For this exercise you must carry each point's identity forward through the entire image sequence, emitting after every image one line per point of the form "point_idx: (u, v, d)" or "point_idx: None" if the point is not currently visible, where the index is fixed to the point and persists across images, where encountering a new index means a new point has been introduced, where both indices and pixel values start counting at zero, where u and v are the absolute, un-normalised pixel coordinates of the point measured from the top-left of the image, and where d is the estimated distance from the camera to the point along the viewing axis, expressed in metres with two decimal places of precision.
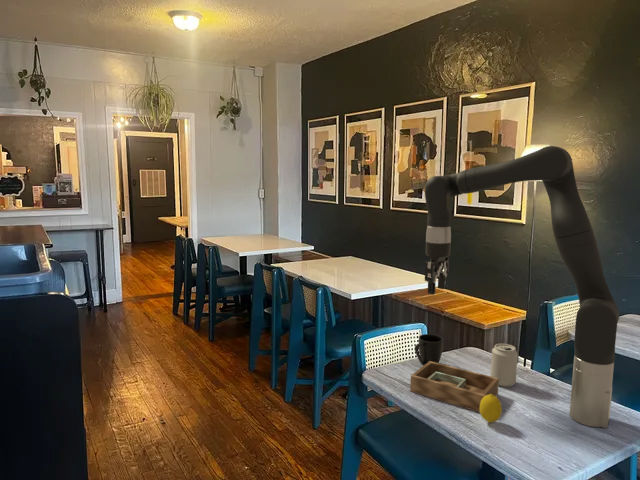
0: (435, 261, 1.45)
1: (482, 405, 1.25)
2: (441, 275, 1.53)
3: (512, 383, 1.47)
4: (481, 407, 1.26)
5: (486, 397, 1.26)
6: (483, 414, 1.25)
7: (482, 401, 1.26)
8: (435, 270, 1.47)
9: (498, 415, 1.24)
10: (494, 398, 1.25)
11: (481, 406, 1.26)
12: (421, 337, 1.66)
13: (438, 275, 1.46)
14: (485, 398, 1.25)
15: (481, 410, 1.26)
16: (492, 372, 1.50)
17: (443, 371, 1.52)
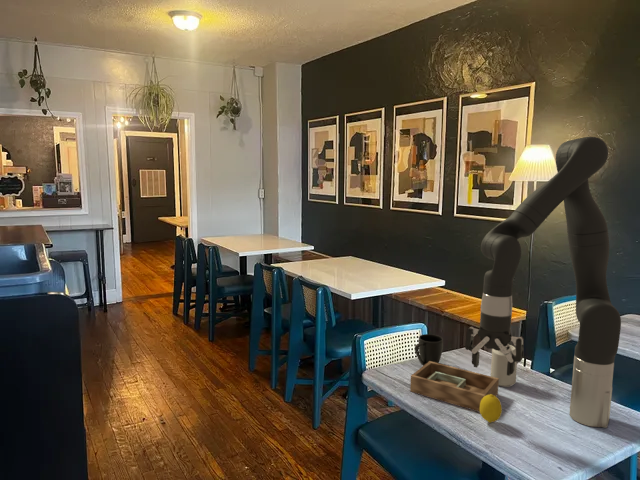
0: None
1: (482, 405, 1.25)
2: (477, 351, 1.27)
3: (512, 383, 1.47)
4: (481, 407, 1.26)
5: (486, 397, 1.26)
6: (483, 414, 1.25)
7: (482, 401, 1.26)
8: (505, 345, 1.23)
9: (498, 415, 1.24)
10: (494, 398, 1.25)
11: (481, 406, 1.26)
12: (421, 337, 1.66)
13: None
14: (485, 399, 1.25)
15: (481, 410, 1.26)
16: (492, 372, 1.50)
17: (443, 371, 1.52)
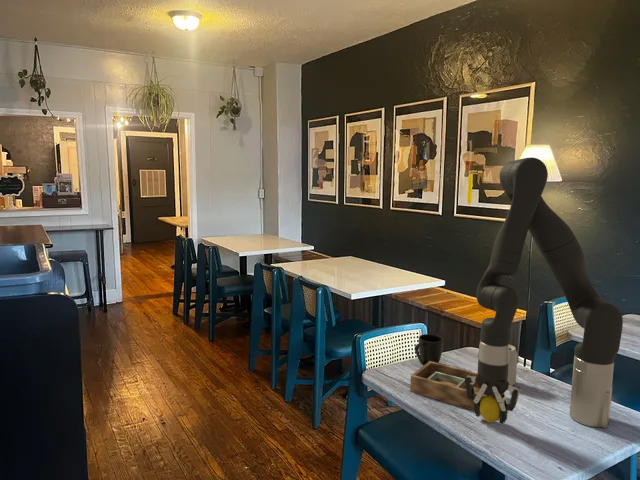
0: None
1: (482, 405, 1.25)
2: (479, 400, 1.28)
3: (512, 383, 1.47)
4: (481, 407, 1.26)
5: (486, 397, 1.26)
6: (483, 414, 1.25)
7: (482, 401, 1.26)
8: None
9: (498, 415, 1.24)
10: (494, 398, 1.25)
11: (481, 406, 1.26)
12: (421, 337, 1.66)
13: None
14: (485, 398, 1.25)
15: (481, 410, 1.26)
16: None
17: (443, 371, 1.52)
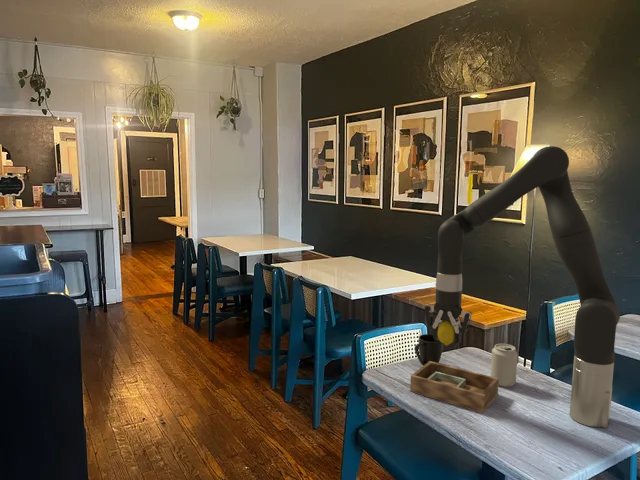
0: None
1: (439, 330, 1.42)
2: (437, 326, 1.44)
3: (512, 383, 1.47)
4: (438, 331, 1.42)
5: (443, 322, 1.42)
6: (440, 337, 1.42)
7: (439, 326, 1.42)
8: (455, 318, 1.41)
9: (453, 337, 1.40)
10: (449, 323, 1.41)
11: (438, 330, 1.42)
12: (421, 337, 1.66)
13: (457, 322, 1.42)
14: (442, 323, 1.42)
15: (438, 334, 1.42)
16: (492, 372, 1.50)
17: (443, 371, 1.52)
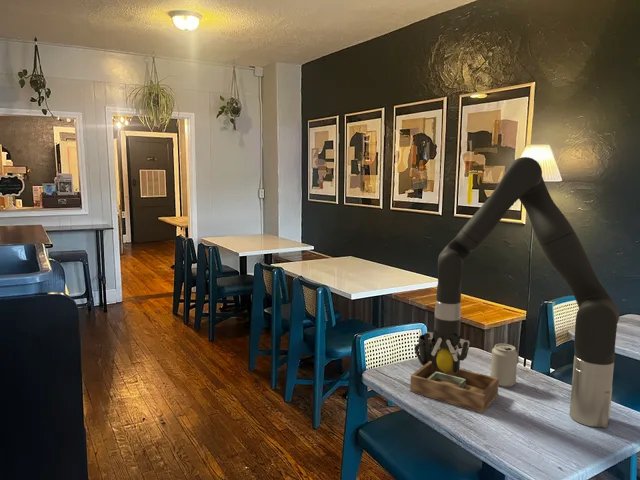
0: None
1: (438, 357, 1.43)
2: (436, 353, 1.46)
3: (512, 383, 1.47)
4: (437, 358, 1.44)
5: (441, 350, 1.44)
6: (439, 364, 1.43)
7: (438, 353, 1.44)
8: (454, 346, 1.43)
9: (451, 365, 1.42)
10: (448, 350, 1.43)
11: (437, 358, 1.44)
12: (421, 337, 1.66)
13: None
14: (441, 351, 1.43)
15: (437, 361, 1.44)
16: (492, 372, 1.50)
17: None
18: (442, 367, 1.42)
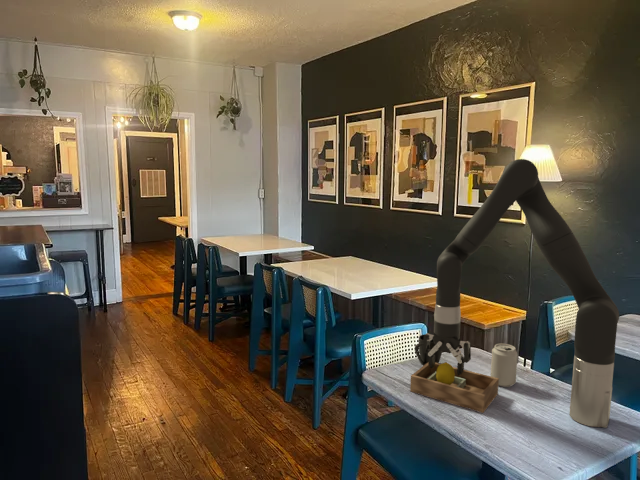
0: None
1: (438, 372, 1.44)
2: (433, 354, 1.46)
3: (512, 383, 1.47)
4: (437, 373, 1.44)
5: (441, 364, 1.44)
6: (438, 379, 1.44)
7: (438, 368, 1.44)
8: (455, 349, 1.42)
9: (451, 380, 1.42)
10: (448, 365, 1.43)
11: (437, 372, 1.44)
12: (421, 337, 1.66)
13: None
14: (440, 366, 1.44)
15: (437, 376, 1.44)
16: (492, 372, 1.50)
17: None
18: (442, 382, 1.43)
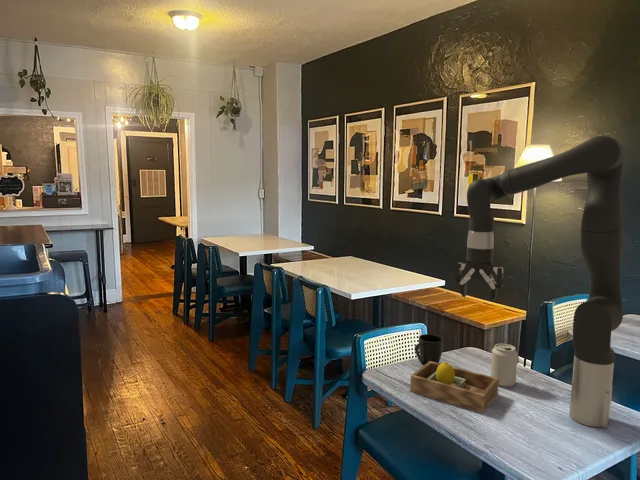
0: None
1: (437, 372, 1.44)
2: (465, 282, 1.47)
3: (512, 383, 1.47)
4: (437, 373, 1.44)
5: (441, 364, 1.44)
6: (438, 379, 1.44)
7: (438, 368, 1.44)
8: (488, 276, 1.43)
9: (451, 380, 1.42)
10: (448, 365, 1.43)
11: (437, 372, 1.44)
12: (421, 337, 1.66)
13: None
14: (440, 366, 1.44)
15: (437, 376, 1.44)
16: (492, 372, 1.50)
17: None
18: (442, 382, 1.43)
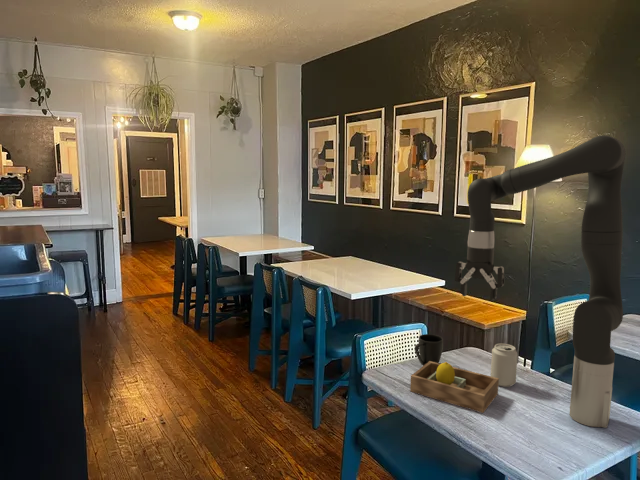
0: None
1: (438, 372, 1.44)
2: (465, 282, 1.47)
3: (512, 383, 1.47)
4: (437, 373, 1.44)
5: (441, 364, 1.44)
6: (438, 379, 1.44)
7: (438, 368, 1.44)
8: (489, 275, 1.43)
9: (451, 380, 1.42)
10: (448, 365, 1.43)
11: (437, 372, 1.44)
12: (421, 337, 1.66)
13: None
14: (440, 366, 1.44)
15: (437, 376, 1.44)
16: (492, 372, 1.50)
17: None
18: (442, 382, 1.43)
